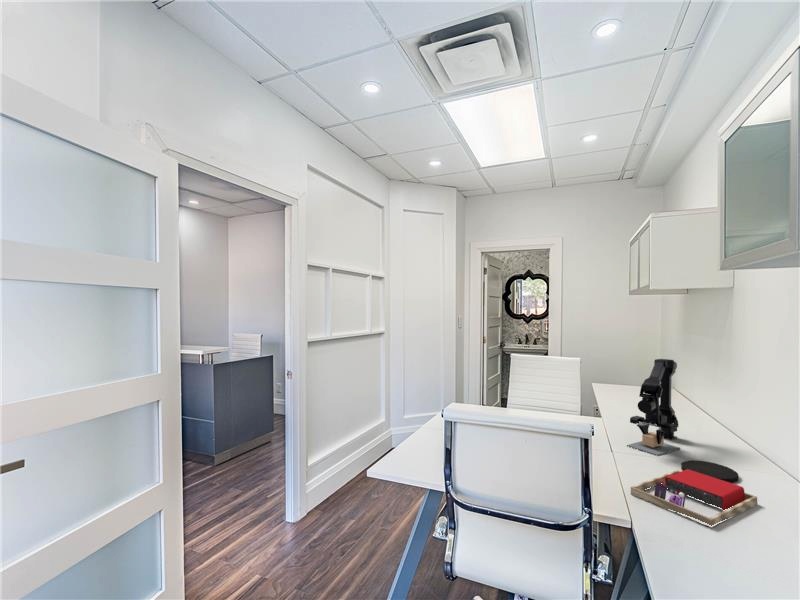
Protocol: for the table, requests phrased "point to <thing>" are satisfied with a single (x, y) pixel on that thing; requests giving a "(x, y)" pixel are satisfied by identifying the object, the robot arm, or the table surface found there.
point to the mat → (654, 448)
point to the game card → (661, 493)
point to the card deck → (651, 440)
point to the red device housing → (706, 488)
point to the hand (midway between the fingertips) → (653, 442)
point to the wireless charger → (711, 470)
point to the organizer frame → (726, 514)
